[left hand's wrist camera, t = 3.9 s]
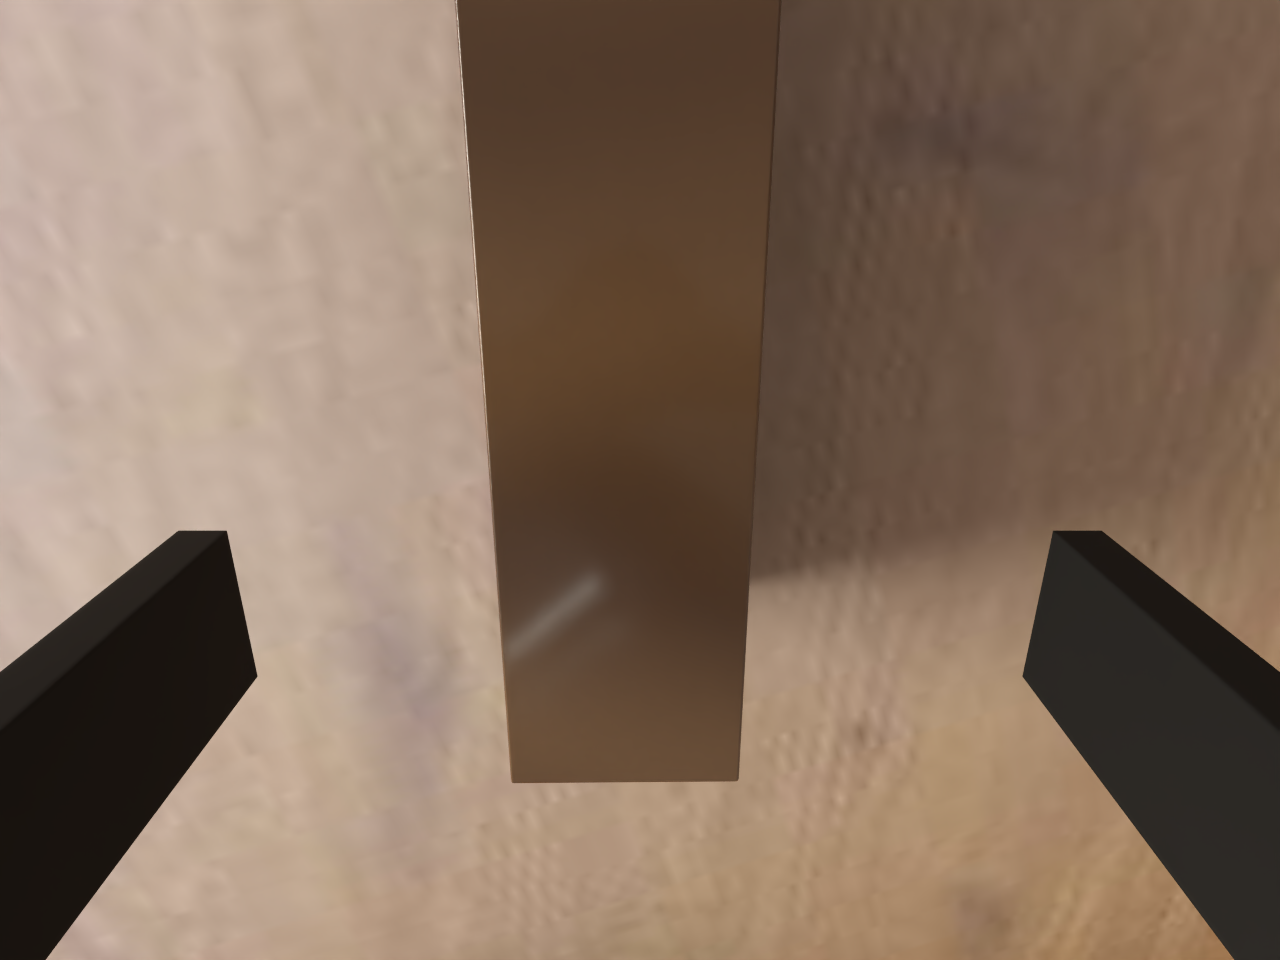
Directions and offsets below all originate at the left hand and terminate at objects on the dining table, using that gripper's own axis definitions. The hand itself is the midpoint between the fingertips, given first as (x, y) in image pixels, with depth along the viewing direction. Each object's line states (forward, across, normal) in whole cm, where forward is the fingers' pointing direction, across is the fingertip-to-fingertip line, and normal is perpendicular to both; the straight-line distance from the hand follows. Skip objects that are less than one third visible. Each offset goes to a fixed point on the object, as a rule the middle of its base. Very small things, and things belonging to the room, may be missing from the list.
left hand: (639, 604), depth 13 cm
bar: (+12, 0, -26) cm, 29 cm away
